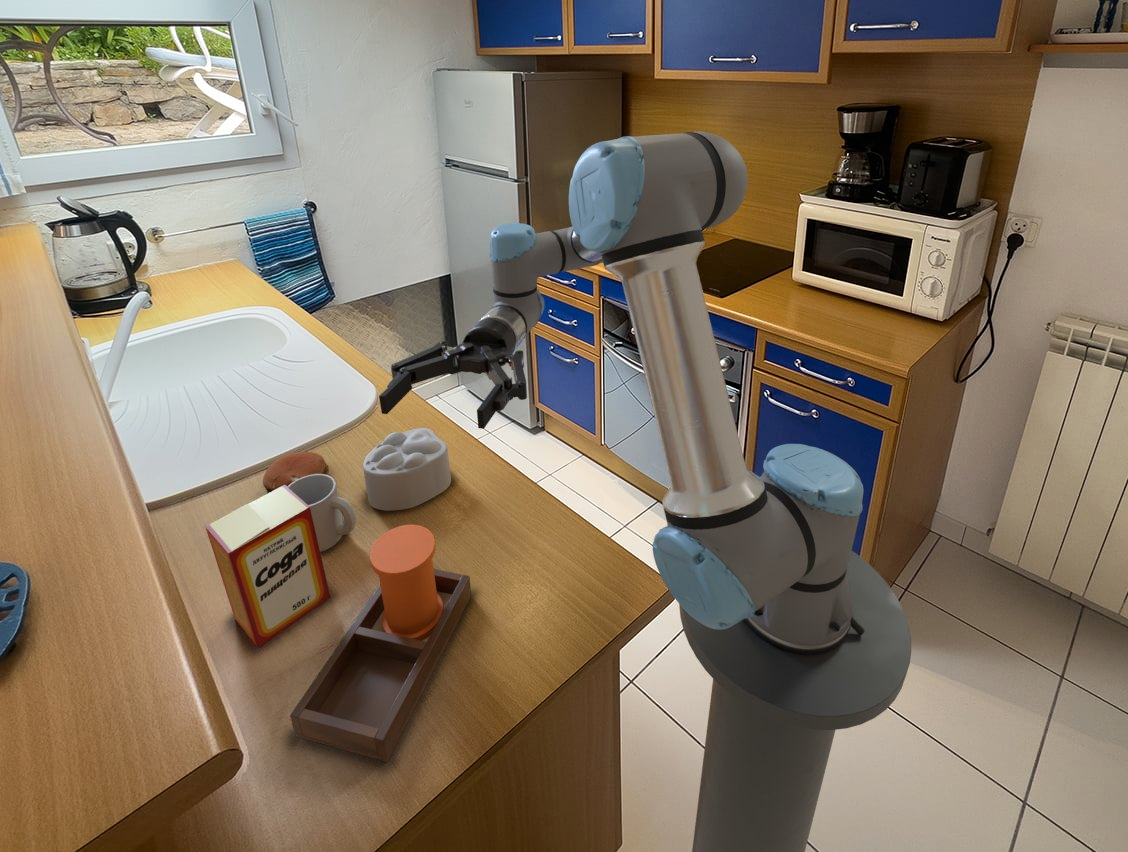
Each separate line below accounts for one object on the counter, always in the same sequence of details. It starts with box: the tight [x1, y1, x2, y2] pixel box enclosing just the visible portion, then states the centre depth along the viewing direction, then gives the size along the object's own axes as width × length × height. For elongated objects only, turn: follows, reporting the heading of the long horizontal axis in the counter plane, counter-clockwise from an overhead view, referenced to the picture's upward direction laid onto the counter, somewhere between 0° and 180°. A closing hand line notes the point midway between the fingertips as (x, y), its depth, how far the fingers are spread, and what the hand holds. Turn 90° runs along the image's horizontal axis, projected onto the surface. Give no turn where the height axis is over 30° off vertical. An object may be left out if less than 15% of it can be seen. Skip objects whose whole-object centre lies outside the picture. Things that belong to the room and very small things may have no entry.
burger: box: [262, 451, 330, 494], centre depth 100 cm, size 10×9×5 cm
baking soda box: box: [205, 485, 331, 649], centre depth 76 cm, size 10×6×16 cm
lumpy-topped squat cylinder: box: [362, 427, 452, 512], centre depth 99 cm, size 10×13×9 cm
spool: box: [369, 524, 444, 641], centre depth 75 cm, size 8×8×12 cm
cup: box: [287, 474, 357, 553], centre depth 89 cm, size 7×10×9 cm
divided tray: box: [289, 568, 472, 763], centre depth 72 cm, size 11×21×4 cm, turn 167°
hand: (430, 412), depth 76 cm, fingers open, 13 cm apart
